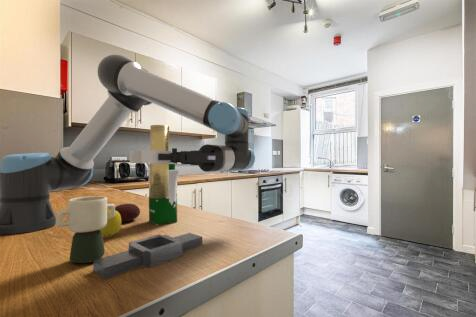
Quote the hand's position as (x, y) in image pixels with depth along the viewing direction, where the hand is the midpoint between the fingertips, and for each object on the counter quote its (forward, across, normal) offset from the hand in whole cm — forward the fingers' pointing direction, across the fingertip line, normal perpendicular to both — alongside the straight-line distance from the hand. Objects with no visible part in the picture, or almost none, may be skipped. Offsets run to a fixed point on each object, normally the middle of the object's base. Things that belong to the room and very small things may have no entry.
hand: (136, 156), depth 49 cm
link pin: (-5, 0, -9) cm, 10 cm away
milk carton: (-23, +24, -22) cm, 40 cm away
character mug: (+6, +9, -22) cm, 24 cm away
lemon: (-4, +21, -22) cm, 31 cm away
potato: (-15, +34, -22) cm, 44 cm away
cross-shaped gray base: (-4, 0, -22) cm, 22 cm away
